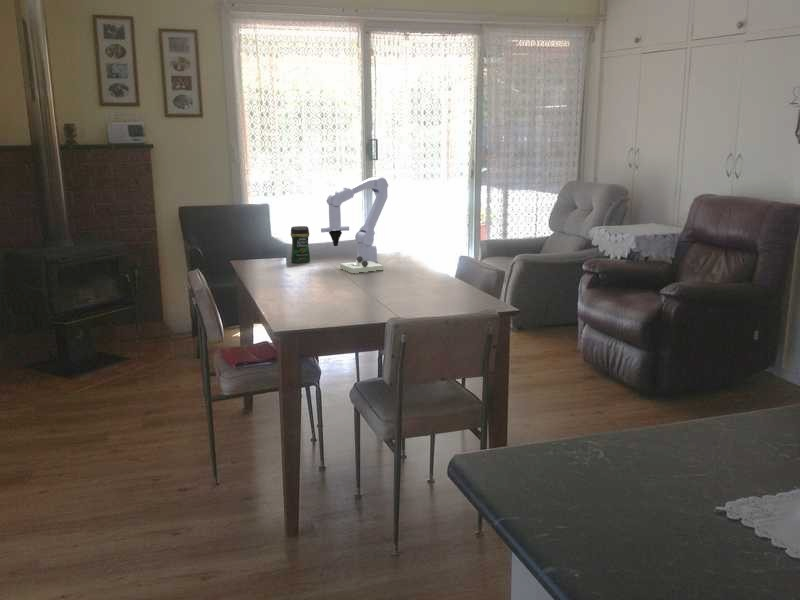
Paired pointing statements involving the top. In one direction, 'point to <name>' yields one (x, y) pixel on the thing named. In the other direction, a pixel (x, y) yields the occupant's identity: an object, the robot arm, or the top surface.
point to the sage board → (361, 267)
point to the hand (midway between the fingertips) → (335, 245)
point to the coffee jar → (300, 244)
